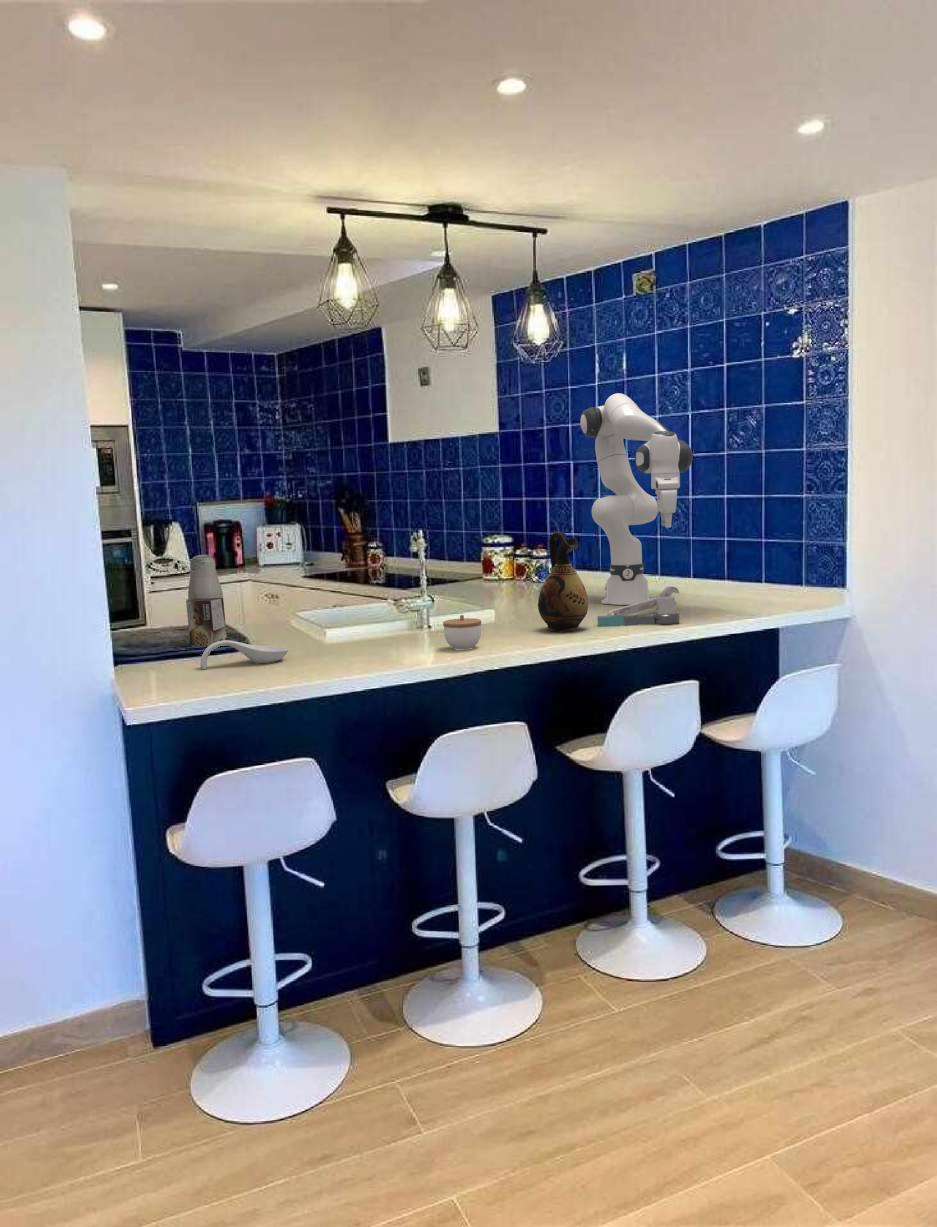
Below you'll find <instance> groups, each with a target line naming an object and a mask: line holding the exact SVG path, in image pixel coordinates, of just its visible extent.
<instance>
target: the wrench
mask: <svg viewBox="0 0 937 1227" xmlns="http://www.w3.org/2000/svg"><path fill="white" fill-rule="evenodd" d="M673 593H674V594H680V591H679V588H677V587H675V586H671V585H670V586H666V587H665V588H664V589H663V590H662V591H661V592H659V593H658V595H655V596H654V597H652V598H653V599H650V600H646V601H643V602H639V603H635V604H630V605H624V606H620V607H618V608H615V609H611V610H609V611H608V612H607V615H606V616H609V615H612V613H613V615H623V616H632V615H635V614H637V613H640V612H643V611H647V610H650V609H653V608H657V598H656V597H667V596H672V595H673ZM677 603H678V602H677V601H675V606H676V605H677Z"/></svg>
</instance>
